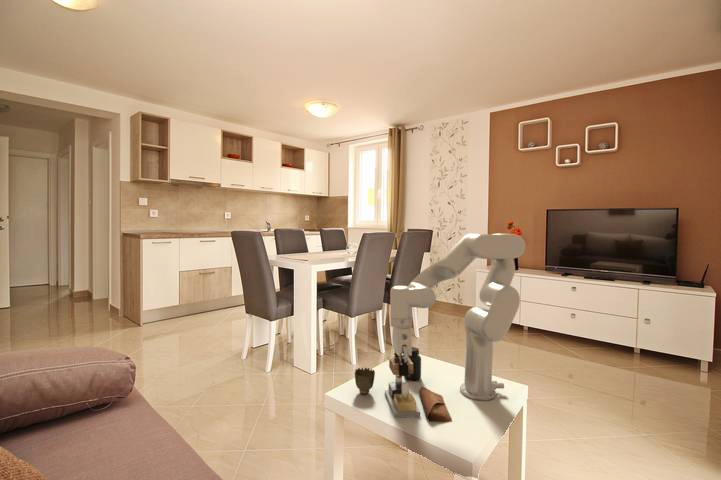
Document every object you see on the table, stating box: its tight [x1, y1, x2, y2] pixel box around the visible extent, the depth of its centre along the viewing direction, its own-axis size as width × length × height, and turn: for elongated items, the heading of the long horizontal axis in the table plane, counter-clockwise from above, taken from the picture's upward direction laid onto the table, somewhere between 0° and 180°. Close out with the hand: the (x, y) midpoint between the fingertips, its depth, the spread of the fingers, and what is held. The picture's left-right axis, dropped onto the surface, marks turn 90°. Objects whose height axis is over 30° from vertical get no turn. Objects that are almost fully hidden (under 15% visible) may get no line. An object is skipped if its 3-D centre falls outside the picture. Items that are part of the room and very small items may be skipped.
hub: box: [394, 381, 417, 412], centre depth 117 cm, size 6×6×8 cm
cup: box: [354, 367, 376, 395], centre depth 130 cm, size 8×7×8 cm
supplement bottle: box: [403, 346, 422, 383], centre depth 143 cm, size 7×7×12 cm
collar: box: [388, 356, 413, 376], centre depth 126 cm, size 7×7×4 cm
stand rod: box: [387, 375, 405, 399], centre depth 126 cm, size 6×6×8 cm
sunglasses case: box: [418, 386, 453, 423], centre depth 121 cm, size 18×7×7 cm, turn 0°
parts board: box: [384, 389, 421, 419], centre depth 122 cm, size 8×16×2 cm, turn 7°
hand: (400, 370), depth 126 cm, fingers closed on collar, 7 cm apart
